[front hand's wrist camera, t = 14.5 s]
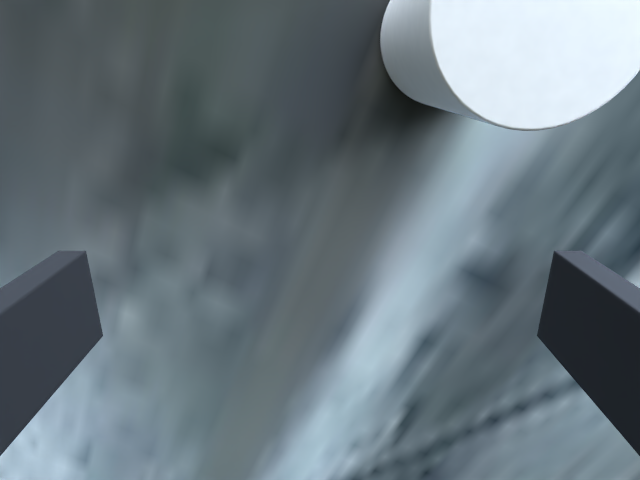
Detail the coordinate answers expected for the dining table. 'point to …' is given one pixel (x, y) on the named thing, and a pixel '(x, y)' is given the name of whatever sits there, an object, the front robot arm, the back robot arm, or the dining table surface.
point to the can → (512, 56)
